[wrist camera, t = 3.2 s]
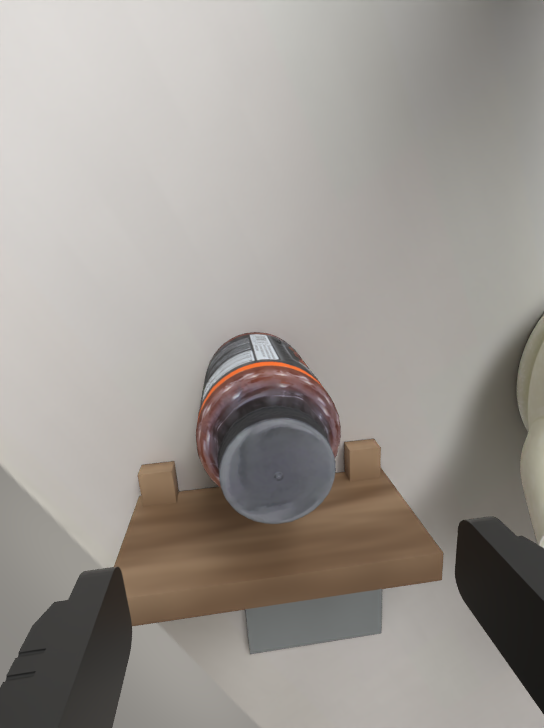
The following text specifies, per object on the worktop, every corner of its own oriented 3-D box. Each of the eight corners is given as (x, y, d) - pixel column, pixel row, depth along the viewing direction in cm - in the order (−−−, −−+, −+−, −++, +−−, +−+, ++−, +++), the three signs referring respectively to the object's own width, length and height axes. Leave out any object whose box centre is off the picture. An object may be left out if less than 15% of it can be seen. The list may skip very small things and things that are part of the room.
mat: (238, 534, 27) (238, 540, 26) (380, 515, 28) (383, 521, 27) (249, 646, 29) (250, 654, 29) (378, 626, 30) (381, 633, 30)
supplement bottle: (317, 397, 25) (390, 508, 14) (232, 437, 25) (238, 579, 14) (279, 312, 23) (326, 362, 12) (187, 356, 23) (154, 444, 12)
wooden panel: (133, 465, 24) (91, 561, 17) (381, 437, 26) (446, 514, 18) (147, 546, 26) (115, 666, 18) (380, 515, 28) (439, 615, 20)
